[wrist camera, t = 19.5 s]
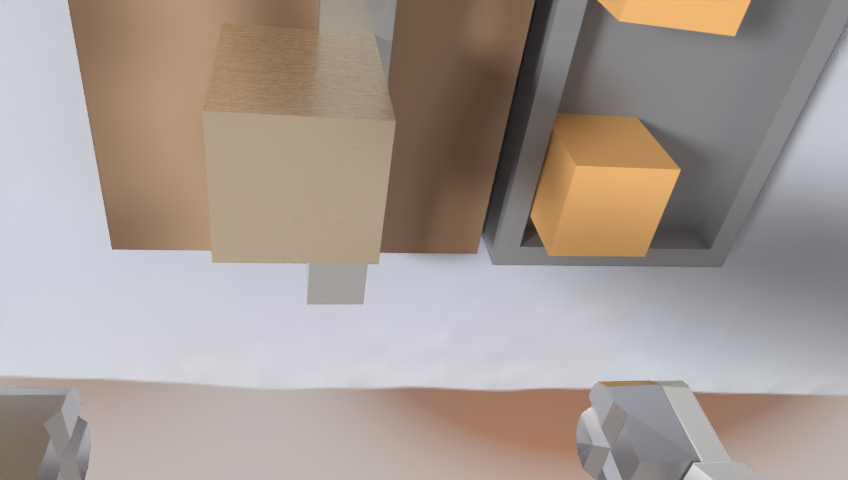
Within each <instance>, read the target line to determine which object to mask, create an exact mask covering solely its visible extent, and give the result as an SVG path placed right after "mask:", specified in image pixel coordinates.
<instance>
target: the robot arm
mask: <svg viewBox="0 0 848 480" xmlns="http://www.w3.org/2000/svg"><path fill="white" fill-rule="evenodd" d="M589 398H590V401H591V403H592V406H591V407H590V408H589V409H587V410H586V411H585V412H583V413H582V414H581V417H580V419H579V422H578V425H577V436H576V444H577V449H578V455H579V458H580V461H581V464H582V467H583V469H584V470H585V471H586V472H588V473H589V474H590V475H591V476H592V477H593V478H594V479H595V480H764V479H762V478H761V477H760V476H758V475H757V474H755V473H754V472H753V471H752V470H750V469H749V468H748V467H746V466H745V465H744V464H742V463H741V462H740V461H731V460H730V458H729V456H728V454H727V453H726V451H725V449H724V448H723V446H722V444H721V442H720V440H719V439H718V437H717V435H716V433H715V432H714V430H713V428H712V426H711V424H710V423H709V421H708V419H707V417H706V416H705V414H704V412H703V410H702V409H701V407H700V405H699V403H698V402H697V400H696V398H695V396H694V394H693V393H692V391H691V389H690V387H689V386H688V385H687V384H686V383H684V382H683V381H653V382H652V381H612V382H598V383H597V384H595V385H594V386H593V388H592V390H591V393H590V395H589ZM81 405H82V401H81V397H80V395H79V391H78V389H77V388H48V387H46V388H45V387H0V480H84V479H85V476H86V472H87V469H88V462H89V456H90V448H91V447H90V432H89V428H88V424H87V422H86V421H84V420H83V419H81V418H80V417H79V416H78V415H79V412H80V409H81Z"/></svg>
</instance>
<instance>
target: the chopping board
mask: <svg viewBox="0 0 848 480" xmlns="http://www.w3.org/2000/svg"><path fill="white" fill-rule="evenodd" d="M534 2H535V0H397V2H396V12H395V21H394V30H393V39H392V48H391V57H390V66H389V75H388V84H387V87H388V91H389V95H390V99H391V103H392V107H393V111H394V115H395V119H396V125H395V133H394V141H393V149H392V157H391V165H390V173H389V182H388V190H387V198H386V206H385V214H384V222H383V230H382V239H381V247H380V253H462V254H477V250H478V246H479V242H480V237H481V233H482V228H483V224H484V220H485V215H486V211H487V207H488V202H489V198H490V194H491V189H492V185H493V181H494V176H495V172H496V168H497V163H498V159H499V154H500V150H501V146H502V141H503V137H504V133H505V128H506V124H507V120H508V115H509V111H510V107H511V102H512V98H513V94H514V89H515V85H516V80H517V76H518V72H519V67H520V63H521V59H522V54H523V50H524V46H525V41H526V37H527V33H528V28H529V24H530V20H531V15H532V11H533V6H534ZM68 4H69V10H70V16H71V21H72V27H73V33H74V38H75V44H76V49H77V55H78V61H79V66H80V72H81V77H82V83H83V89H84V94H85V100H86V105H87V111H88V117H89V122H90V128H91V133H92V139H93V145H94V150H95V156H96V162H97V167H98V173H99V178H100V184H101V190H102V195H103V201H104V206H105V212H106V218H107V223H108V229H109V234H110V240H111V246H112V249H129V250H212V248H211V233H210V218H209V202H208V187H207V172H206V157H205V141H204V126H203V107H204V102H205V98H206V94H207V89H208V85H209V81H210V76H211V72H212V68H213V63H214V59H215V55H216V50H217V46H218V42H219V37H220V33H221V29H222V25H223V23H227V24H240V25H253V26H266V27H279V28H292V29H304V30H315V20H316V0H68Z"/></svg>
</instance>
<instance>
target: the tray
mask: <svg viewBox="0 0 848 480" xmlns="http://www.w3.org/2000/svg"><path fill="white" fill-rule="evenodd" d="M847 21H848V0H751V2H750V4H749V6H748V8H747V10H746V13H745V15H744V17H743V19H742V21H741V24H740V26H739V28H738V30H737V32H736V35H735V36H729V35H721V34H713V33H706V32H698V31H690V30H683V29H675V28H667V27H660V26H652V25H644V24H637V23H629V22H621V21H618V20H617V19H616V18H615V17H614V16H613V15H612V14H611V13H610V12H609V11H608V10H607V9H606V8H605V7H604V6H603V5H602V4H601V3H600V2H598V1H597V0H537V4H536V8H535V12H534V17H533V21H532V25H531V30H530V34H529V38H528V43H527V47H526V51H525V55H524V60H523V64H522V68H521V73H520V77H519V81H518V86H517V90H516V94H515V99H514V103H513V107H512V112H511V116H510V120H509V125H508V129H507V133H506V137H505V142H504V146H503V150H502V155H501V159H500V163H499V168H498V172H497V176H496V181H495V185H494V189H493V194H492V198H491V202H490V206H489V211H488V215H487V219H486V224H485V228H484V232H483V239H484V242H485V245H486V248H487V251H488V253H489V256H490V259H491V262H492V265H563V266H679V267H722V265H723V263H724V261H725V259H726V257H727V255H728V253H729V251H730V249H731V247H732V245H733V243H734V241H735V239H736V237H737V236H738V234H739V232H740V230H741V228H742V226H743V224H744V222H745V220H746V218H747V216H748V214H749V212H750V210H751V208H752V206H753V204H754V202H755V200H756V198H757V196H758V194H759V193H760V191H761V189H762V187H763V185H764V183H765V181H766V179H767V177H768V175H769V173H770V171H771V169H772V167H773V165H774V163H775V161H776V159H777V157H778V155H779V153H780V151H781V150H782V148H783V146H784V144H785V142H786V140H787V138H788V136H789V134H790V132H791V130H792V128H793V126H794V124H795V122H796V120H797V118H798V116H799V114H800V112H801V110H802V108H803V107H804V105H805V103H806V101H807V99H808V97H809V95H810V93H811V91H812V89H813V87H814V85H815V83H816V81H817V79H818V77H819V75H820V73H821V71H822V69H823V67H824V66H825V64H826V62H827V60H828V58H829V56H830V54H831V52H832V50H833V48H834V46H835V44H836V42H837V40H838V38H839V36H840V34H841V32H842V30H843V28H844V26H845V24H846V23H847ZM557 113H562V114H581V115H601V116H620V117H637V118H638V119H639V120H640V122H641V123H642V124H643V125H644V126H645V128H646V129H647V130H648V131H649V132H650V133H651V135H652V136H653V137H654V138H655V139H656V141H657V142H658V143H659V144H660V145H661V146H662V148H663V149H664V150H665V151H666V152H667V154H668V155H669V156H670V157H671V158H672V160H673V161H674V162H675V163H676V164H677V165H678V167H679V168H680V169H681V171H680V173H679V176H678V178H677V180H676V183H675V185H674V188H673V190H672V193H671V195H670V197H669V200H668V202H667V205H666V207H665V209H664V212H663V214H662V217H661V219H660V221H659V224H658V226H657V229H656V231H655V234H654V236H653V238H652V241H651V243H650V246H649V248H648V250H647V253H646V255H645V257H623V256H549V255H548V253H547V251H546V249H545V247H544V245H543V242H542V240H541V238H540V236H539V234H538V232H537V230H536V227H535V225H534V223H533V221H532V219H531V217H530V215H529V212H530V208H531V205H532V201H533V197H534V194H535V190H536V186H537V183H538V179H539V176H540V172H541V168H542V165H543V161H544V157H545V154H546V150H547V147H548V143H549V139H550V136H551V132H552V128H553V125H554V121H555V118H556V114H557Z"/></svg>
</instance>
